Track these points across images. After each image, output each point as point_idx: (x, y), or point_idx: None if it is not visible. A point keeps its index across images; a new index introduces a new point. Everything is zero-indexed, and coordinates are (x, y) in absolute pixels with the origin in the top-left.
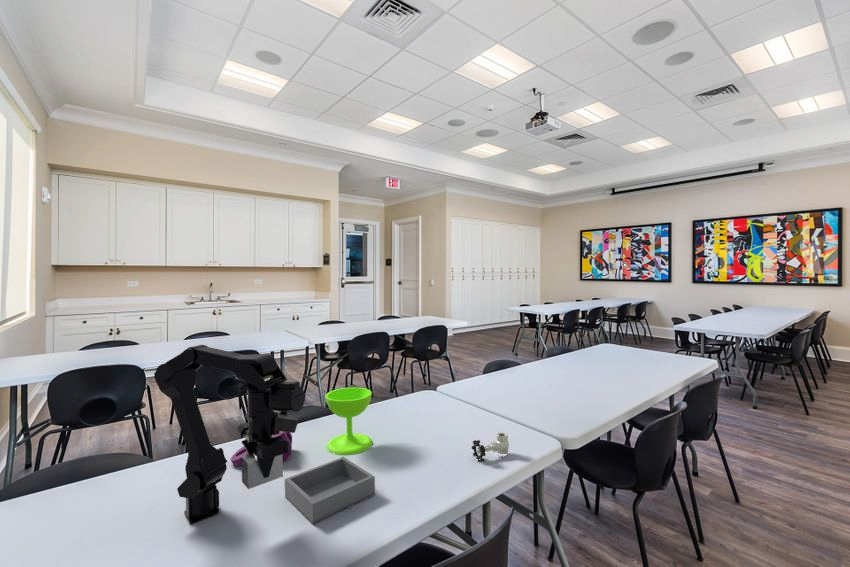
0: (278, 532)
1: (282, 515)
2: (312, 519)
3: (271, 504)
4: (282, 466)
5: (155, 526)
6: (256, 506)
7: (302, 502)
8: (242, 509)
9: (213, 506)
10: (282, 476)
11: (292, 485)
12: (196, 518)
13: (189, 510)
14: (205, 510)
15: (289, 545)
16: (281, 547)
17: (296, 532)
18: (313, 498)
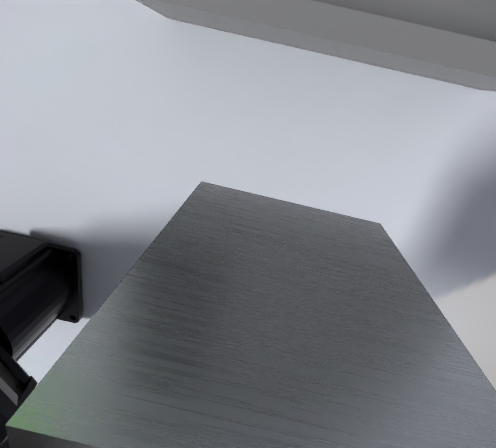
0: (368, 203)
1: (289, 125)
2: (494, 89)
3: (171, 101)
4: (417, 283)
5: (25, 357)
6: (135, 150)
7: (396, 62)
8: (115, 192)
9: (47, 267)
10: (377, 227)
11: (250, 17)
12: (69, 305)
13: (39, 337)
14: (61, 298)
15: (467, 225)
16: (445, 245)
17: (440, 165)
18: None
